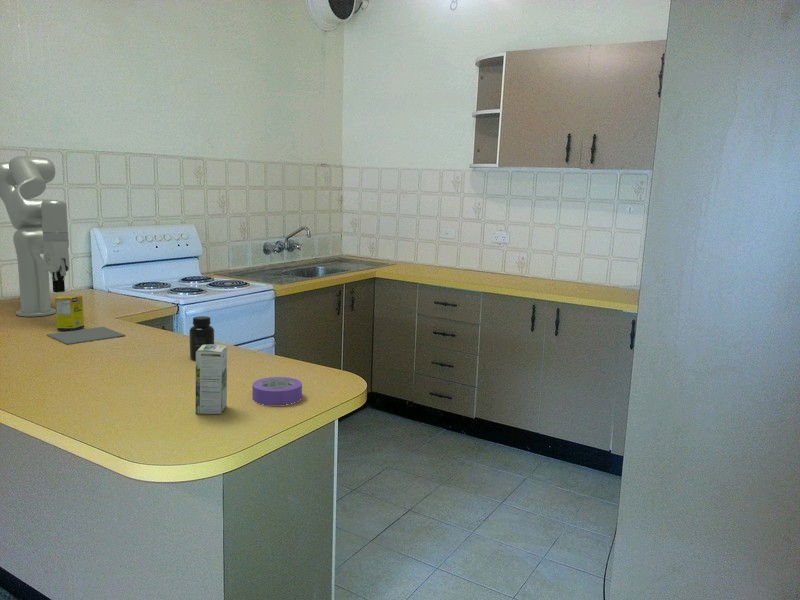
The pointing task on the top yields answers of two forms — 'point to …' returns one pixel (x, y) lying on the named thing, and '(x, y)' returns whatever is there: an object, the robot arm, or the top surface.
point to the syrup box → (211, 379)
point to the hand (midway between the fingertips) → (59, 291)
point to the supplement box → (69, 312)
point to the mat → (85, 335)
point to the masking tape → (277, 391)
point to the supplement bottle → (200, 334)
